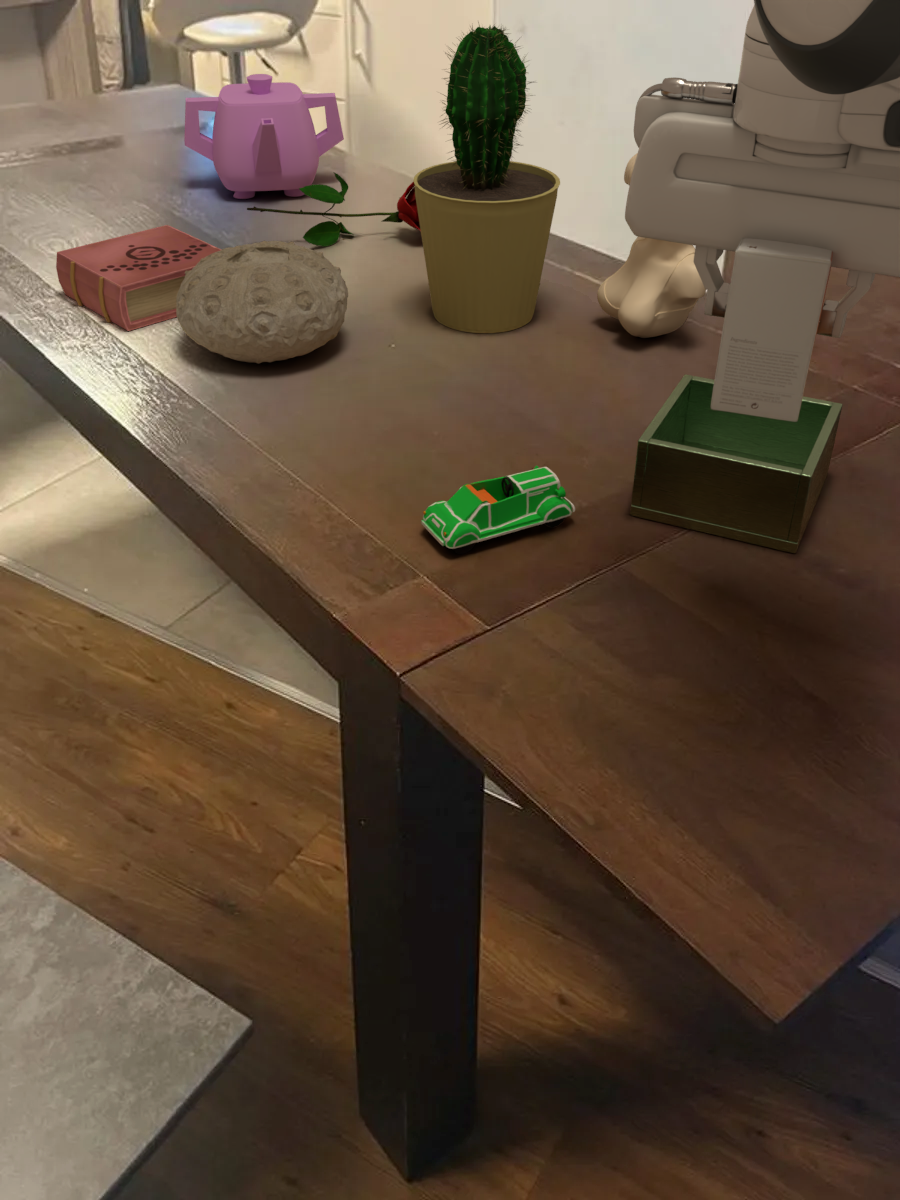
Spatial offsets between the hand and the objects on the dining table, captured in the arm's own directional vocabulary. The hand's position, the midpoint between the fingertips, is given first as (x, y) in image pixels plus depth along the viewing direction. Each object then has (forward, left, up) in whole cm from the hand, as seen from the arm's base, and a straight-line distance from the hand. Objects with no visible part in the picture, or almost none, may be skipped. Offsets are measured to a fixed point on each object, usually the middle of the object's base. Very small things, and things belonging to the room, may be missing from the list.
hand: (773, 323), depth 75 cm
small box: (0, 0, -5) cm, 5 cm away
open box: (+3, -15, -22) cm, 27 cm away
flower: (+61, -59, -22) cm, 88 cm away
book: (+75, -31, -22) cm, 84 cm away
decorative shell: (+56, -25, -22) cm, 65 cm away
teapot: (+85, -73, -22) cm, 115 cm away
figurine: (+20, -46, -22) cm, 55 cm away
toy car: (+19, -2, -22) cm, 29 cm away
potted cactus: (+38, -43, -22) cm, 62 cm away
